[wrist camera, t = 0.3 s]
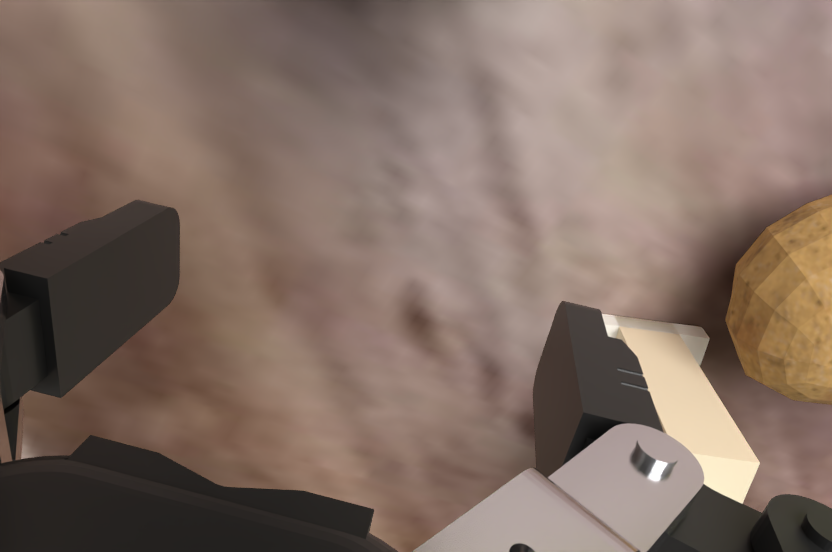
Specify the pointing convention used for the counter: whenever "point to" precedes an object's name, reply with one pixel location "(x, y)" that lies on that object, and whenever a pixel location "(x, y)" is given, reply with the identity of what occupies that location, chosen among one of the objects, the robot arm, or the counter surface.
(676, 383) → the stand
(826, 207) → the potato
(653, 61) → the counter surface
